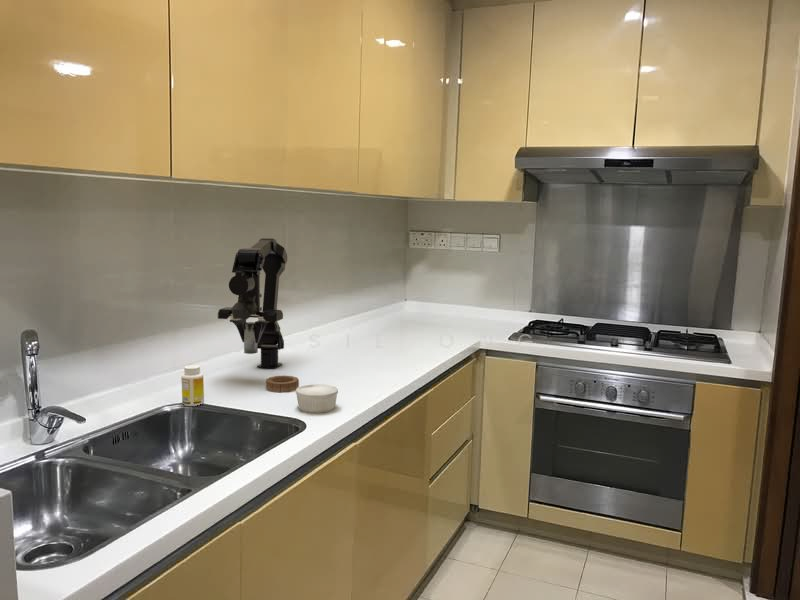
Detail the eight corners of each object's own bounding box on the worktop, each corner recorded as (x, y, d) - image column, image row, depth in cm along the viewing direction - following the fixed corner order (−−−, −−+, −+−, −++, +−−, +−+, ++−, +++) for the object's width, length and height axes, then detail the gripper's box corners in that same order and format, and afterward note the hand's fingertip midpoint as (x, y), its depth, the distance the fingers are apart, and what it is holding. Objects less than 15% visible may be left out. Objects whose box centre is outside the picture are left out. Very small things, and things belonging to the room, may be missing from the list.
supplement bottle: (205, 400, 180) (205, 364, 178) (201, 406, 174) (200, 369, 173) (184, 401, 179) (183, 364, 178) (180, 407, 174) (179, 369, 172)
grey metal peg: (247, 350, 202) (247, 321, 201) (259, 351, 201) (259, 322, 200) (241, 353, 198) (241, 323, 197) (254, 354, 197) (253, 324, 196)
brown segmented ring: (273, 382, 199) (273, 374, 199) (302, 385, 197) (302, 376, 197) (261, 390, 190) (261, 382, 190) (291, 393, 188) (291, 384, 188)
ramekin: (317, 399, 183) (317, 381, 182) (346, 408, 176) (347, 388, 175) (286, 408, 174) (286, 389, 173) (316, 417, 167) (316, 397, 166)
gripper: (208, 293, 191) (209, 346, 193) (268, 295, 187) (269, 349, 190) (225, 288, 202) (226, 338, 204) (283, 291, 198) (283, 342, 200)
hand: (250, 342), depth 199 cm, fingers closed on grey metal peg, 4 cm apart
